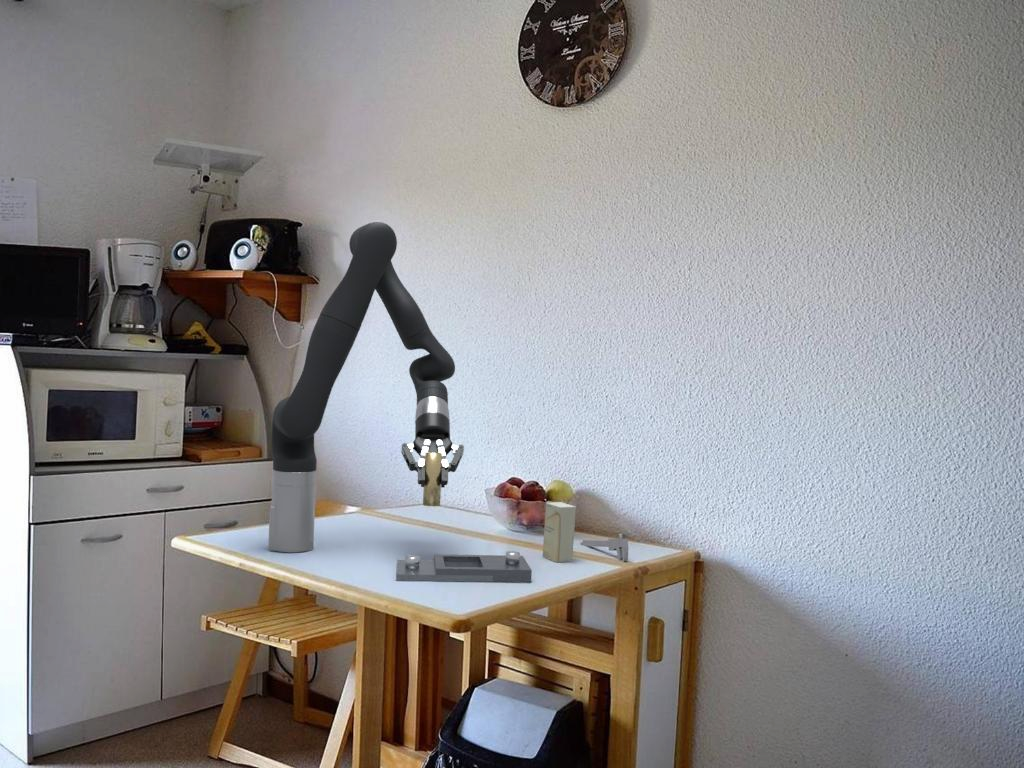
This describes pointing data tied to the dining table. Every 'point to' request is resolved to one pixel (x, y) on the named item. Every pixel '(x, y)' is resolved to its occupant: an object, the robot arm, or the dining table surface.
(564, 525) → the skincare box
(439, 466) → the pin
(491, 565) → the chain end upper
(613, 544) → the caliper
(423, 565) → the chain end lower
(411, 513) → the dining table surface
